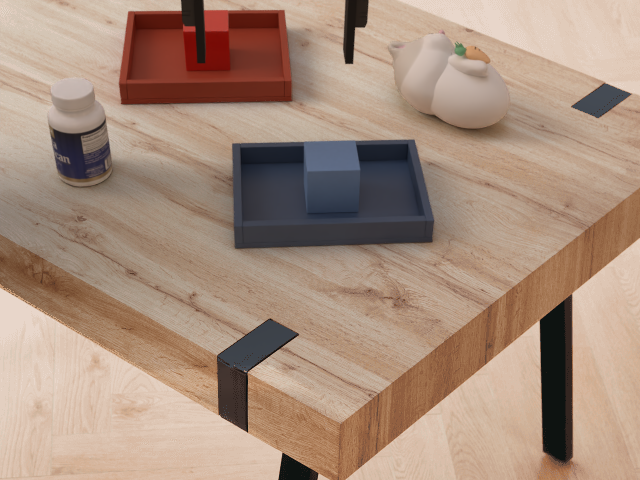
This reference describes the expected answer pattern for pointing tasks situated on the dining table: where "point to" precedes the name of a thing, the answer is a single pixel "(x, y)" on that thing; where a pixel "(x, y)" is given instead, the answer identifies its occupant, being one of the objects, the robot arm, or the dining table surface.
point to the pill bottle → (79, 133)
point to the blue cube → (331, 176)
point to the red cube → (209, 43)
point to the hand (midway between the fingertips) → (275, 56)
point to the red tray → (205, 86)
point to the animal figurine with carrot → (449, 81)
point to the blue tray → (329, 228)
